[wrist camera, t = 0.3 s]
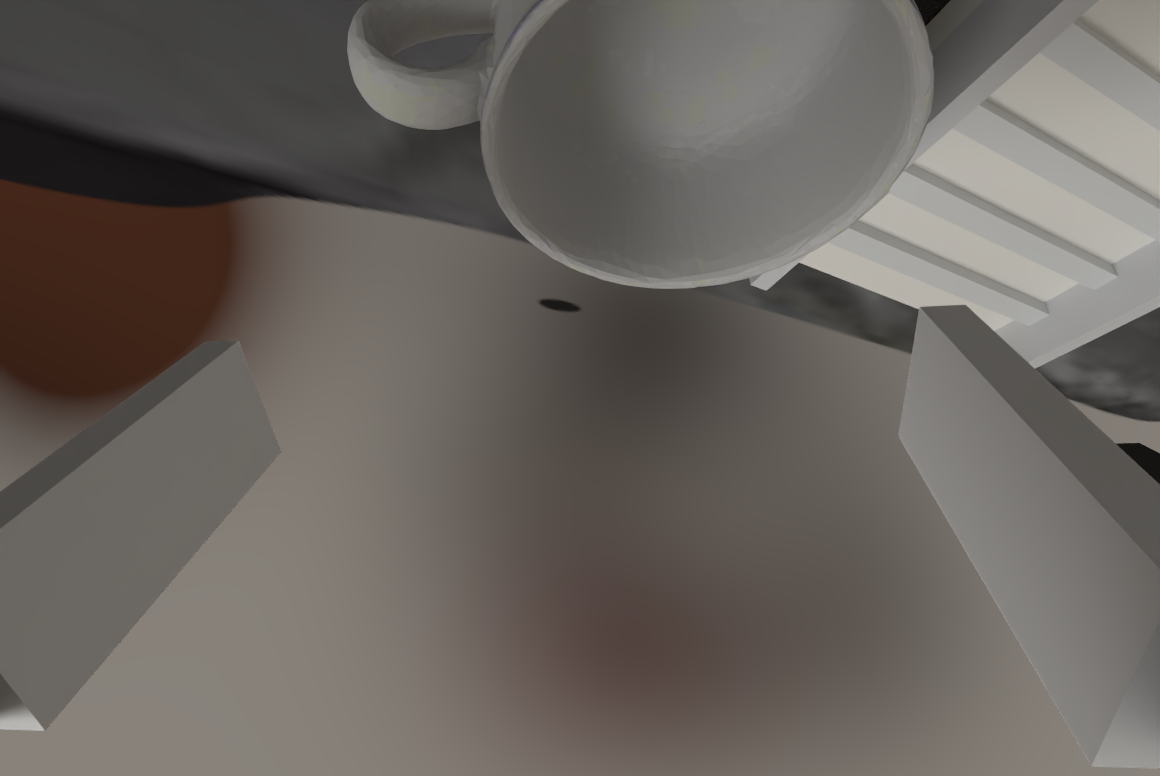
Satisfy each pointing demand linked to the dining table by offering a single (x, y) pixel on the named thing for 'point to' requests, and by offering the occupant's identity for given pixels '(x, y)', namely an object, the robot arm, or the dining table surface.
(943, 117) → the drying rack
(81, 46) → the dining table surface
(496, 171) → the teacup
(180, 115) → the dining table surface
